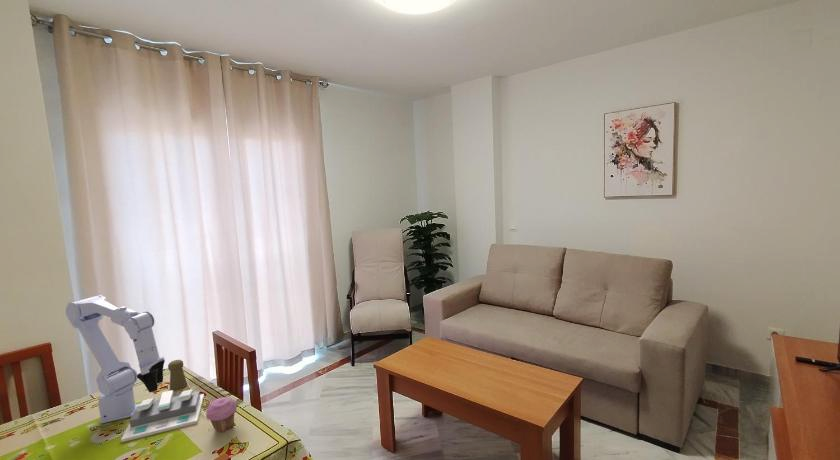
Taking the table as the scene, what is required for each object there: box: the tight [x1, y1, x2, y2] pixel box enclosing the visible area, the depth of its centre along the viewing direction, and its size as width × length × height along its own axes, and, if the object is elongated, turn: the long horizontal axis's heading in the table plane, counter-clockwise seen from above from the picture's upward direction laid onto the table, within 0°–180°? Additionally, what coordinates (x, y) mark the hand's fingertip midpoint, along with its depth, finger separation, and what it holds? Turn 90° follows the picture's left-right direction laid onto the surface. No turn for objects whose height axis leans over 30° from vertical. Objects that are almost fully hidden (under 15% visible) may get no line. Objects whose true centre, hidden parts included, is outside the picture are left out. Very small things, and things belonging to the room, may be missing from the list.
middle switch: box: [158, 390, 174, 411], centre depth 132 cm, size 3×8×2 cm, turn 24°
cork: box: [167, 359, 188, 392], centre depth 150 cm, size 6×6×11 cm
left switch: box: [136, 397, 155, 411], centre depth 130 cm, size 3×8×2 cm, turn 23°
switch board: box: [120, 390, 205, 443], centre depth 130 cm, size 21×18×4 cm
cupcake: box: [205, 396, 238, 433], centre depth 123 cm, size 9×9×10 cm
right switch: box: [178, 388, 194, 402], centre depth 134 cm, size 3×8×2 cm, turn 23°
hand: (156, 386), depth 127 cm, fingers open, 7 cm apart
